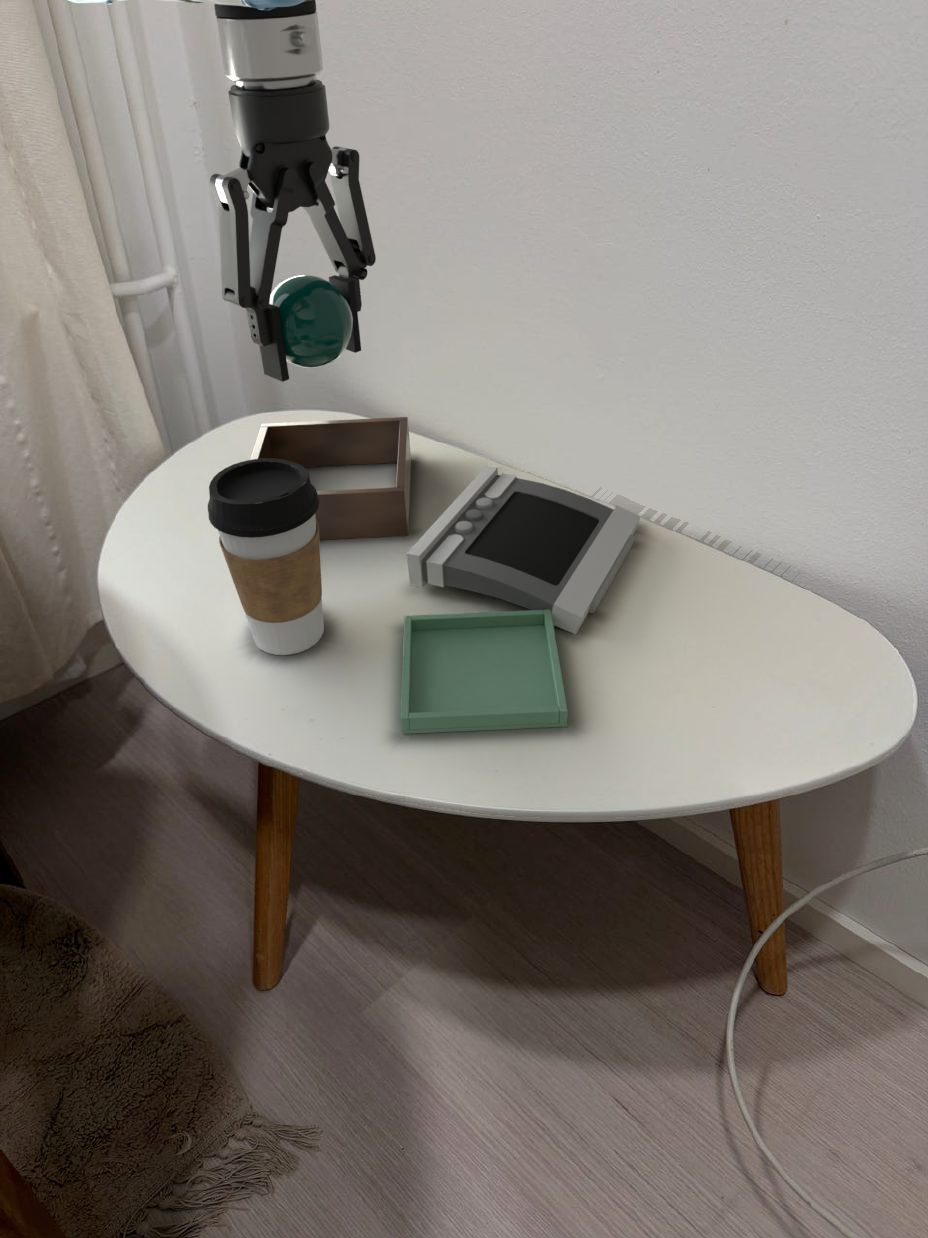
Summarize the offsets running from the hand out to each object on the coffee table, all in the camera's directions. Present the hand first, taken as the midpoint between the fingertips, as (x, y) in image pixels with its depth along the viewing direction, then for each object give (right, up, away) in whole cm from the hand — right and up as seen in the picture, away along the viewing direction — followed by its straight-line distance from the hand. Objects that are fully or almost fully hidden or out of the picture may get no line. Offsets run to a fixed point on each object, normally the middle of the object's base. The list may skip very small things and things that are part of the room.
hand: (313, 361), depth 85 cm
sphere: (0, 0, 0) cm, 1 cm away
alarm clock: (+20, -18, 0) cm, 27 cm away
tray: (+15, -28, -13) cm, 35 cm away
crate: (+1, -11, +10) cm, 15 cm away
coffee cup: (-1, -25, -7) cm, 26 cm away
